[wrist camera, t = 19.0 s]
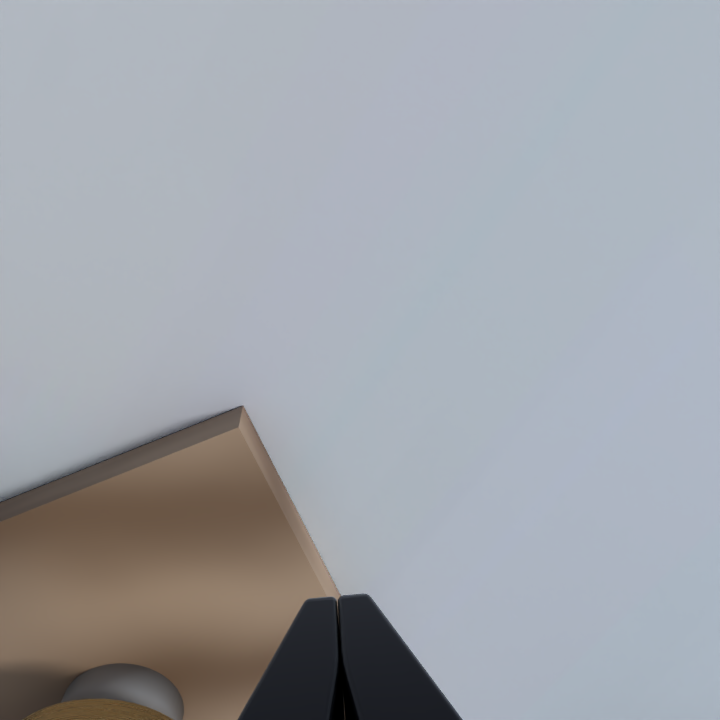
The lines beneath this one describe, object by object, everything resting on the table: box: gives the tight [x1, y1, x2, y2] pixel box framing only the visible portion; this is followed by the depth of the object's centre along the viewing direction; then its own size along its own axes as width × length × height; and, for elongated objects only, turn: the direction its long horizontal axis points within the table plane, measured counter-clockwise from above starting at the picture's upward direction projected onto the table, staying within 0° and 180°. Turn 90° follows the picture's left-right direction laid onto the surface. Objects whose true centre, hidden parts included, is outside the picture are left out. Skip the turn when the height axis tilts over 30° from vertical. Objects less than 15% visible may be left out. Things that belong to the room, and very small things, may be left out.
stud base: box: [0, 406, 345, 720], centre depth 22 cm, size 16×16×4 cm
